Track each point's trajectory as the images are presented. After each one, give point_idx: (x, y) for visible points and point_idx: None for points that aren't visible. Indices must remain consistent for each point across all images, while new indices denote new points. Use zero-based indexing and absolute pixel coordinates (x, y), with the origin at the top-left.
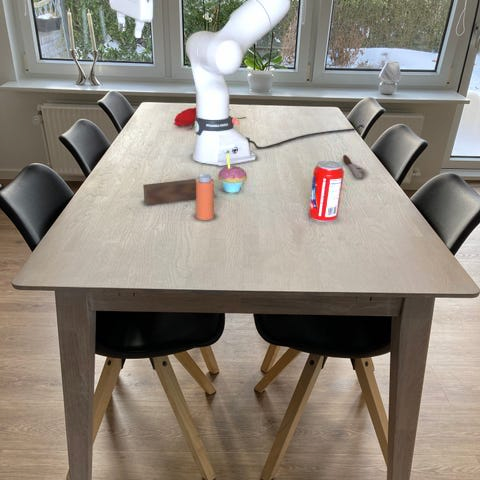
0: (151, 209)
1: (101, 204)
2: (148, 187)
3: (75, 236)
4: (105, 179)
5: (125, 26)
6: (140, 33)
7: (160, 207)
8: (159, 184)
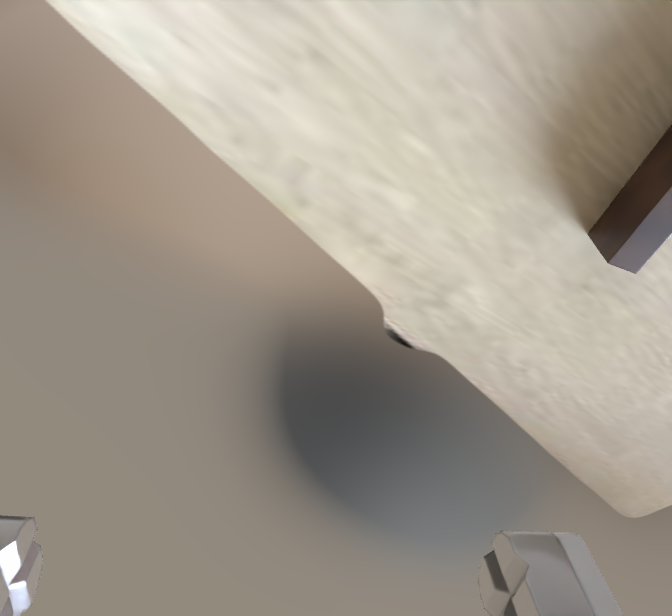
0: None
1: (500, 319)
2: (638, 266)
3: (586, 424)
4: (344, 212)
5: (5, 586)
6: (601, 593)
7: None
8: (655, 226)
